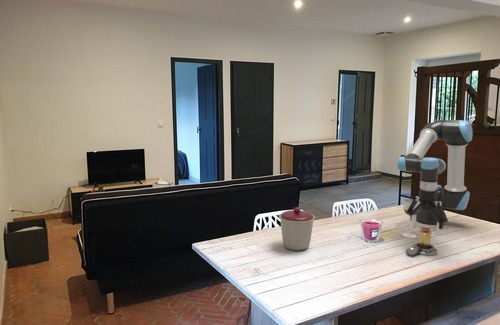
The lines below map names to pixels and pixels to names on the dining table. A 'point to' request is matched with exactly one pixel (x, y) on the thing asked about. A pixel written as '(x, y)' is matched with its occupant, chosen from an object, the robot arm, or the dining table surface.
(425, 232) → the yellow glass cylinder
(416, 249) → the grey flat curved piece
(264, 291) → the dining table surface
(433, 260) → the dining table surface
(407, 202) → the wineglass
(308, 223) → the canister
